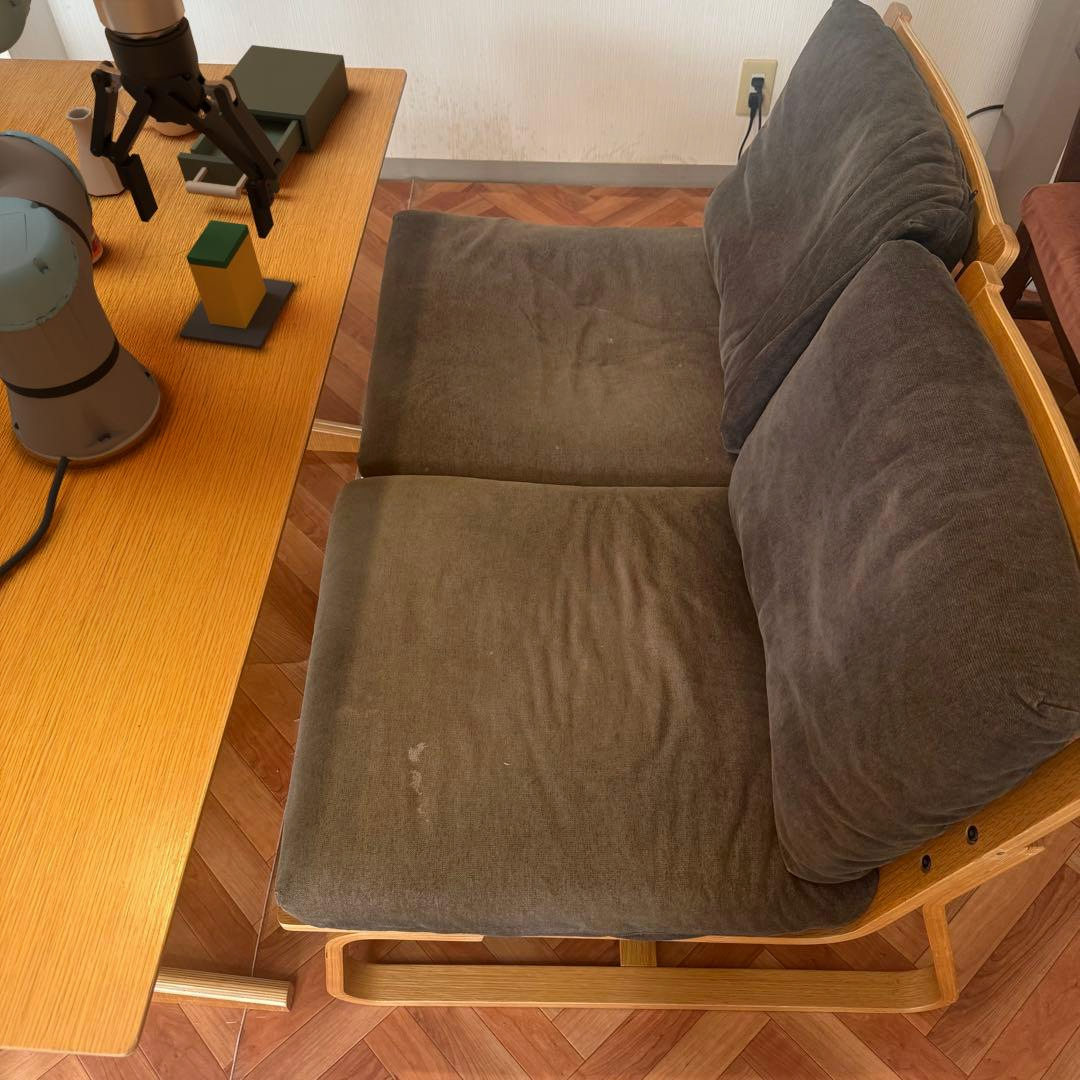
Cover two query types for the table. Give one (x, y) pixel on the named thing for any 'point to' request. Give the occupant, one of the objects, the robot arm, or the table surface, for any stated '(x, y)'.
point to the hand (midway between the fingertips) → (208, 223)
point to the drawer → (219, 174)
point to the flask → (92, 156)
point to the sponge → (227, 273)
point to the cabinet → (293, 87)
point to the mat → (254, 331)
